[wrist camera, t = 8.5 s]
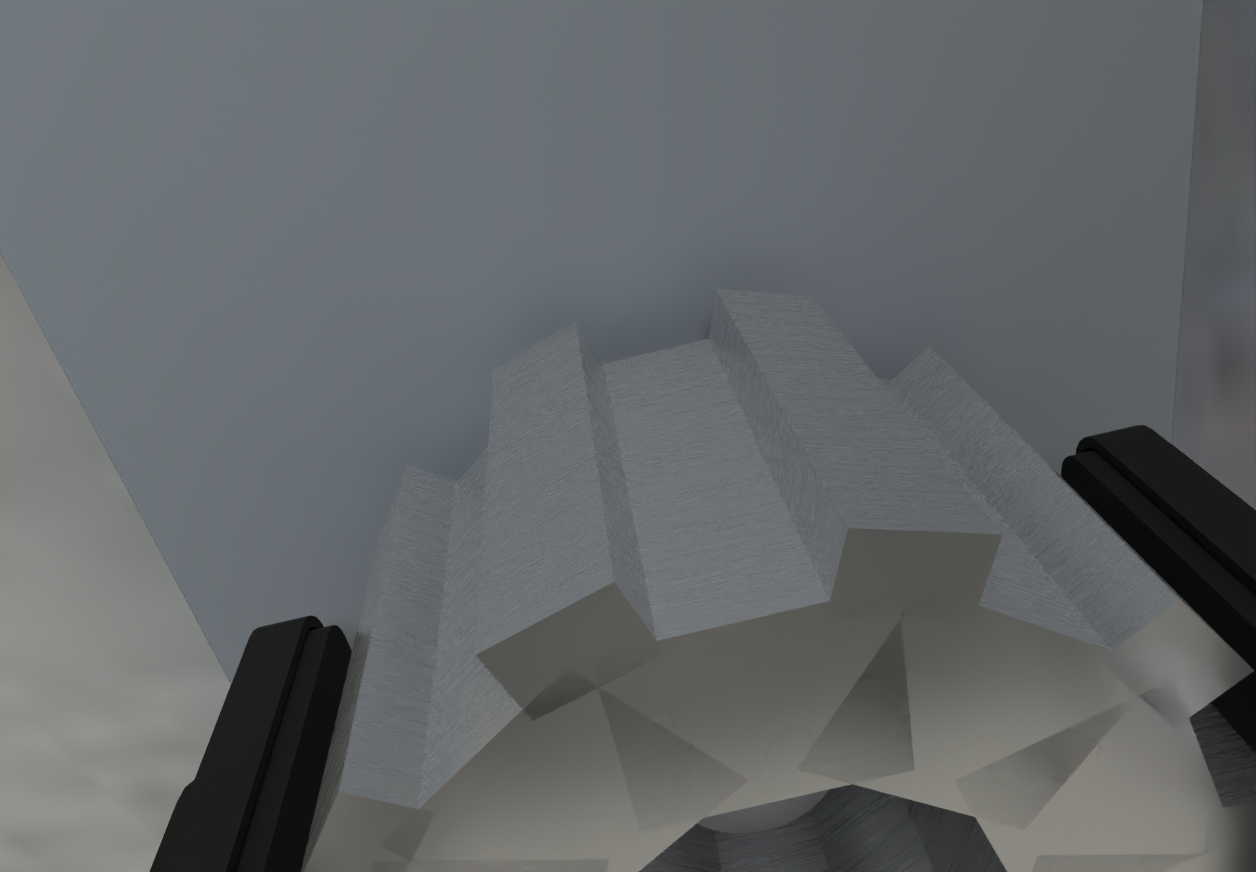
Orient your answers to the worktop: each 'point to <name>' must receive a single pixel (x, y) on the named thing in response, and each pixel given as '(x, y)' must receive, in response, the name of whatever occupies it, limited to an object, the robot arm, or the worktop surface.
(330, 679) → the robot arm
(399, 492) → the steel gear
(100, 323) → the gear board
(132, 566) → the worktop surface
